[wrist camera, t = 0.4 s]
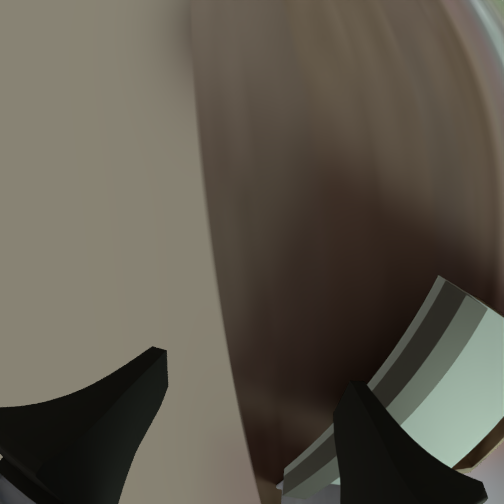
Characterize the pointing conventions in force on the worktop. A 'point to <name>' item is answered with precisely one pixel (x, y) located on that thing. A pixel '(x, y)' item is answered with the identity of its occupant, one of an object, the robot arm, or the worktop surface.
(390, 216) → the worktop surface
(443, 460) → the lid
